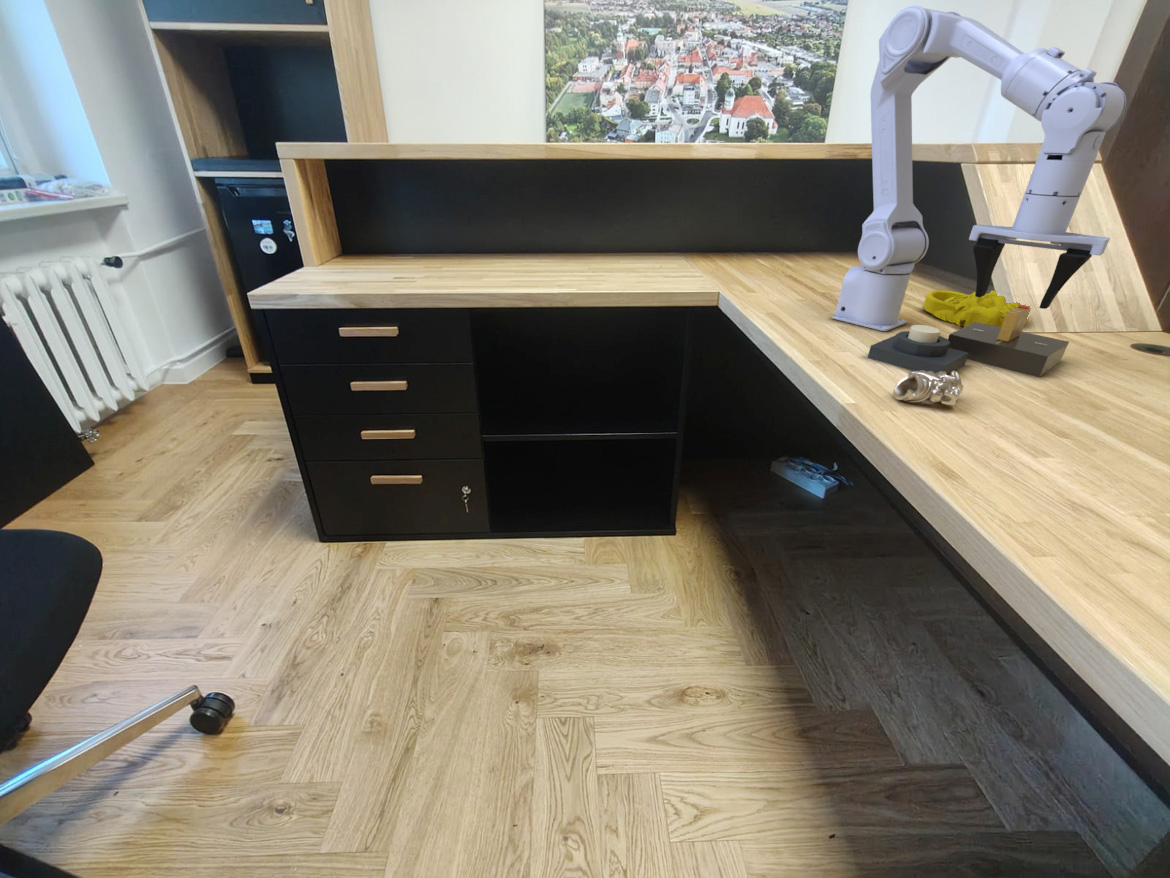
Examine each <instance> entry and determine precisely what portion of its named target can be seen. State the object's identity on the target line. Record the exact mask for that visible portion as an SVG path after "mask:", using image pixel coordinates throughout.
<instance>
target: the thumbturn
mask: <svg viewBox="0 0 1170 878" xmlns="http://www.w3.org/2000/svg"><path fill="white" fill-rule="evenodd" d="M1026 305H1027V304H1025V305H1020V306H1019V307H1017V308H1015V309H1012V310H1010V311H1008V312H1007V314H1006V317H1005V320H1004V322H1003V325H1002V327H1001V330H1000V333H999V335H998V338H997V339H998V340H1002V341H1007V342H1009V341H1010V340H1012V339H1014V338H1016V337H1018V336H1020V335H1021V332H1023V330H1024V328H1025V327H1024V325H1025V326H1026V324H1025V322H1026V320H1027V317H1028V315H1029V312H1030V313H1031V310H1032V307H1031V306H1030V305H1028V306H1026ZM1028 318H1029V317H1028Z"/></svg>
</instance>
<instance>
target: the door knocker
mask: <svg viewBox="0 0 1170 878" xmlns="http://www.w3.org/2000/svg"><path fill="white" fill-rule="evenodd" d="M996 292H997V290H990V292H989V293H987V292H986V294H985V295H984V296H982V297H975V293H976V291H974V292H973V291H972V293H969V294H967V293H962V292H959V291H954V290H946V289H935V290H931V291H929V292H927V294H926V296H925V297H924V301H923V304H922V308H923V309H924V310H925V311H926V312H928V313H929V314H931V315H933V316H934V317H936V318H938V319H939V320H942V321H945V322H949V323H952V324H956V325H957V326H959V328H964V327H966V326H968V325H970V324H972V323H974V322H978V323H983V324H988V325H993V326H997V327H1002V325H1003V322H1004V320H1005V317H1006V314H1007V312H1008V311H1010V310H1012V309H1015V308H1017V307H1019V306H1020V305H1021V304H1020V303H1018V302H1016V303H1014V302H1013V303H1006V299H1005V297H1004V296H997V293H996ZM1029 319H1030V318H1029V317H1028V319H1027V320H1026V322H1025V325H1024V326H1026V325H1027V323H1028V322H1029Z"/></svg>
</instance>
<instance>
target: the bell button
mask: <svg viewBox="0 0 1170 878" xmlns="http://www.w3.org/2000/svg"><path fill="white" fill-rule="evenodd" d="M909 331H910V332H909V335H908V338H909V339H911V340H914V341H918V342H923V343H937V340H938V337H939V336H940V334H941V329H939V328H937V327H934V326H931V325H925V324H913V325H911V326H910V329H909Z"/></svg>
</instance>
